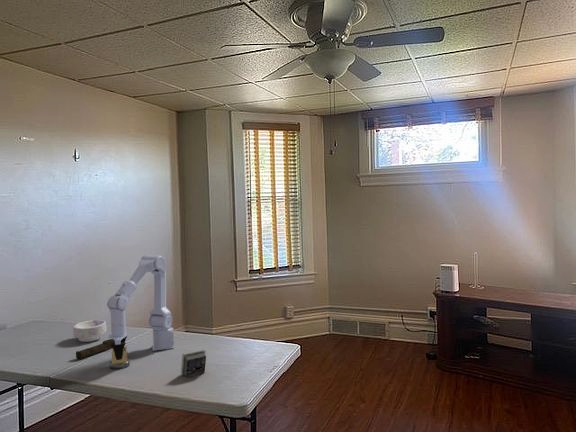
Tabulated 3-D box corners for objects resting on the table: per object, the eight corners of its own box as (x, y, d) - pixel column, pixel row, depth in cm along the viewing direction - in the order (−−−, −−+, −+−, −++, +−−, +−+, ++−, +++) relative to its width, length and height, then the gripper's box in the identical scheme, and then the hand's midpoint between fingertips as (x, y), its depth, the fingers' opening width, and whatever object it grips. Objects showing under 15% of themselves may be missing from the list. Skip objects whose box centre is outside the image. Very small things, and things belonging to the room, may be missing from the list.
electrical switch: (203, 369, 175) (203, 347, 174) (208, 374, 171) (208, 352, 170) (180, 374, 170) (180, 352, 169) (185, 380, 166) (185, 357, 165)
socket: (127, 358, 184) (126, 344, 184) (126, 362, 179) (126, 348, 179) (113, 360, 183) (112, 345, 182) (112, 364, 177) (111, 350, 177)
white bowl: (66, 342, 215) (66, 326, 214) (91, 333, 229) (90, 318, 228) (89, 345, 209) (88, 329, 209) (113, 336, 223) (112, 321, 223)
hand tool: (80, 361, 188) (80, 350, 188) (75, 359, 191) (75, 349, 191) (118, 348, 204) (118, 338, 204) (113, 347, 206) (113, 337, 206)
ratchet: (129, 368, 178) (128, 356, 178) (109, 370, 176) (108, 358, 176) (131, 352, 198) (131, 341, 198) (113, 354, 195) (113, 343, 195)
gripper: (109, 320, 186) (111, 352, 186) (106, 330, 172) (107, 363, 173) (127, 319, 188) (128, 349, 189) (125, 328, 174) (126, 361, 175)
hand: (119, 356), depth 181 cm, fingers open, 7 cm apart
